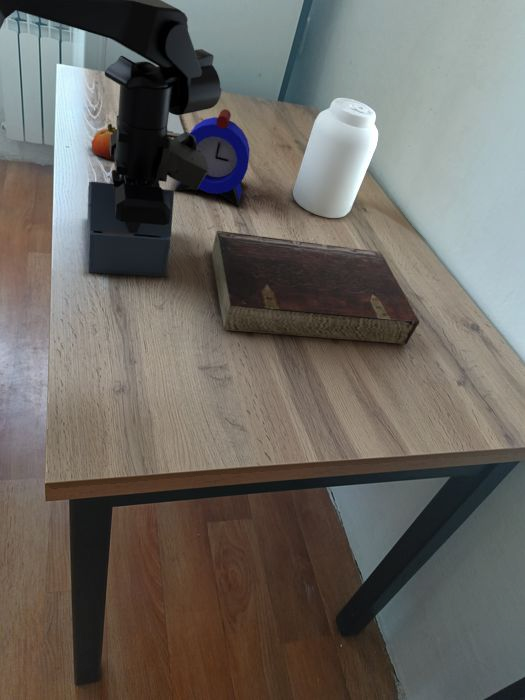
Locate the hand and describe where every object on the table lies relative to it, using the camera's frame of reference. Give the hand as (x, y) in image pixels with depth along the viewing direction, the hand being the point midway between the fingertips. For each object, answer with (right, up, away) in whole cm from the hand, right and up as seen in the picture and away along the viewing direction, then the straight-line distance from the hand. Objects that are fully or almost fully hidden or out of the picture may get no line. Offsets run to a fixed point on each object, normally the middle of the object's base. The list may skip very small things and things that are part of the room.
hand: (132, 231), depth 74 cm
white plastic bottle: (+30, +14, +37) cm, 50 cm away
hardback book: (+25, -8, +12) cm, 29 cm away
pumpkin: (-11, +22, +31) cm, 40 cm away
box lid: (0, +3, 0) cm, 3 cm away
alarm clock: (+8, +16, +31) cm, 35 cm away
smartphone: (-4, +35, +47) cm, 58 cm away
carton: (-4, 0, +10) cm, 10 cm away
